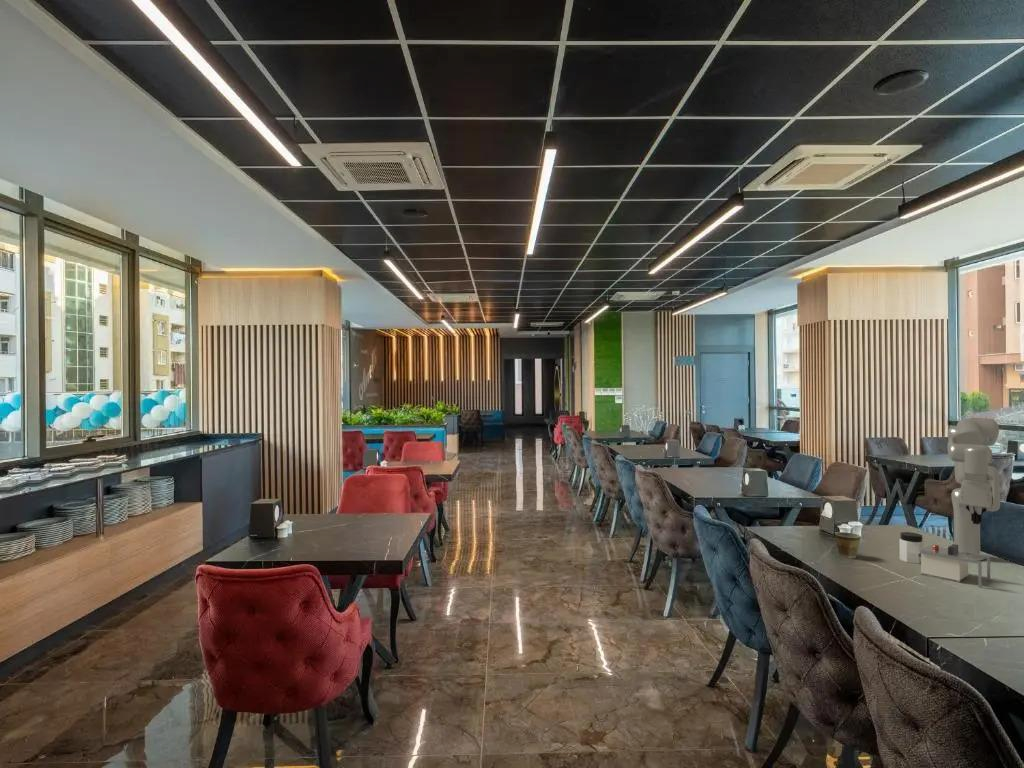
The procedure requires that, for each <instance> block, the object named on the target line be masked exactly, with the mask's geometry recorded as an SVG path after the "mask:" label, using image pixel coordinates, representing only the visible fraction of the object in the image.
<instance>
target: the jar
mask: <svg viewBox="0 0 1024 768" xmlns="http://www.w3.org/2000/svg"><path fill="white" fill-rule="evenodd" d="M899 535H900V538H899V561H903V562H905V563H908V562H909V563H908V564H917V565H920V564H921V557H918V554H919V553H920V551H921V550H923V549H924V541H923V535H922V534H920V533H916V532H909V531H902V532H900V534H899Z"/></svg>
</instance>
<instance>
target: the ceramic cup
mask: <svg viewBox="0 0 1024 768" xmlns="http://www.w3.org/2000/svg"><path fill="white" fill-rule="evenodd" d="M834 534H835V541H836V545H837V551H838V555H839V557H841V558H845V559H856V558H857V556H858V555H857V554H858V550H859V544H860V540H861V535H860V534H857V533H852V532H846V531H844V532H843V531H841V532H840V531H839V532H835V533H834Z"/></svg>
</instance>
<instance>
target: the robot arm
mask: <svg viewBox="0 0 1024 768" xmlns="http://www.w3.org/2000/svg"><path fill="white" fill-rule="evenodd" d="M999 434H1000V426H999V424H998V423H997V421H996V420H994V419H993V418H975V417H974V418H962V419H961V420H959V421H958V422H957V424H956V426H952V427H949V429H948V430H947V440H948V441H947V444H946V445H947V446H946V447H947V448H946V449H947V454H948V458H949V460H951V461H952V462H954V479H955V481H956V483H957V484H959V485H960V487H958V488H957V487H956V488H955V489H953V490H952V491H951V495H950V496H951V503H952V508H953V544H955V545H958V550H959V551H965V552H971V553H977V554H981V523H982V521H983V520H982V518H983V516H982V515H983V514H984V513H985V512H997V511H998V510H1000V508H1001V489H1000V488H1001V487H1000V485H1001V483H1000V474H999V471H998V469H997V468H996V467H995V466H992V465H989V462H990V461H991V460H992V459H993V451H992V449H991V448H990V446H991V447H992V446H994V445H995V444H996V443H997V440H998V437H999ZM968 559H970V560H975V561H981V562H982V561H985V559H986V558H984V557H979V556H973V555H968Z"/></svg>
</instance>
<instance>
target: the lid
mask: <svg viewBox="0 0 1024 768" xmlns="http://www.w3.org/2000/svg"><path fill="white" fill-rule="evenodd" d="M940 547H941V546H939V545H938V544H932V545H929V546H927V547H925V548H923V550H921V551H926V552H931V553H937V554H942V555H948V556H953V557H959V558H963V557H965V556H967V555H968V552H963V551H958V545H955V544H954V543H953V544H951V545H949V546H947V547H942V548H940ZM946 548H948V549H946Z"/></svg>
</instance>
